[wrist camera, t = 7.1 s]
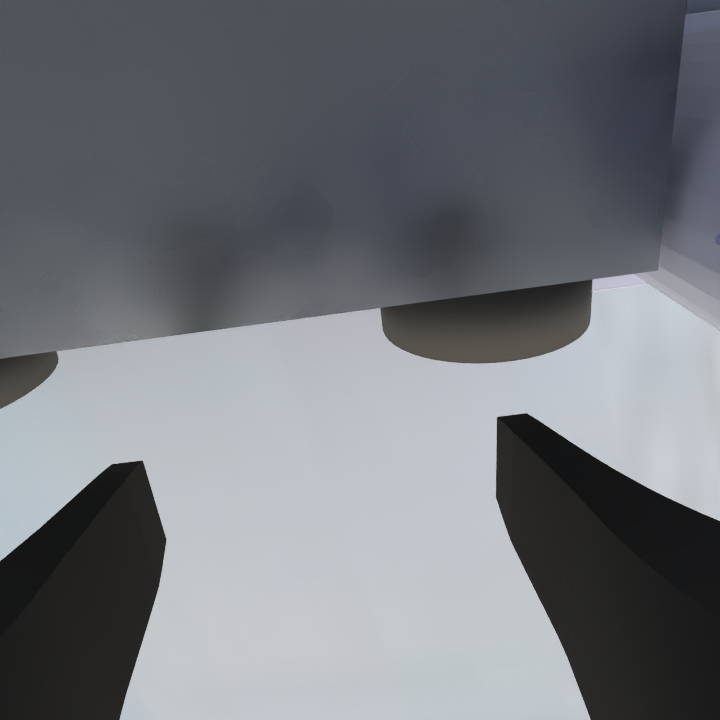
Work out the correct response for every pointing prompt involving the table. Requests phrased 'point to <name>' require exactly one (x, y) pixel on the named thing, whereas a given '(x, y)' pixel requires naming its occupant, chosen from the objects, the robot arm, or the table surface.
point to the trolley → (327, 168)
